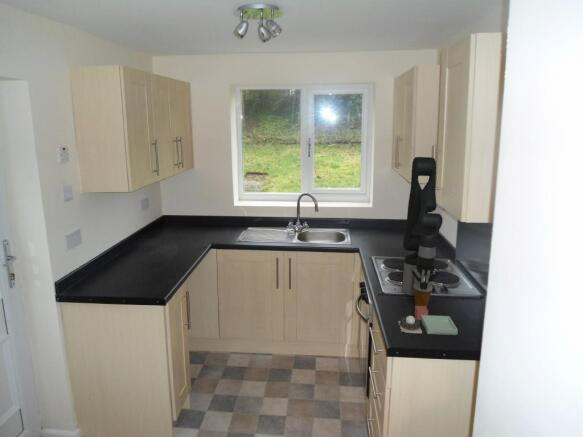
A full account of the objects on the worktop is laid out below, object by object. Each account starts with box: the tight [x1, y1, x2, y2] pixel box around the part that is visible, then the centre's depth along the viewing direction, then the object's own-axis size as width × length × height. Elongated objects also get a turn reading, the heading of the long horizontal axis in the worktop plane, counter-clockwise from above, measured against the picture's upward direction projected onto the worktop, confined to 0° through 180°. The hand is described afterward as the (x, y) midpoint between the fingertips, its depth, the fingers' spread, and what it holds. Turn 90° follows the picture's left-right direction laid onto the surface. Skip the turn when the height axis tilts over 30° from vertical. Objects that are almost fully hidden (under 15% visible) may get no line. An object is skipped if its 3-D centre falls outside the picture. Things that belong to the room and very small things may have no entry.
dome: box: [405, 315, 416, 324], centre depth 205 cm, size 4×4×4 cm
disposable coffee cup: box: [413, 281, 434, 309], centre depth 227 cm, size 10×10×12 cm
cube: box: [414, 305, 429, 321], centre depth 215 cm, size 5×5×5 cm
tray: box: [420, 314, 458, 336], centre depth 207 cm, size 13×13×3 cm
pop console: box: [397, 316, 423, 334], centre depth 205 cm, size 9×9×4 cm
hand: (423, 289), depth 212 cm, fingers closed
